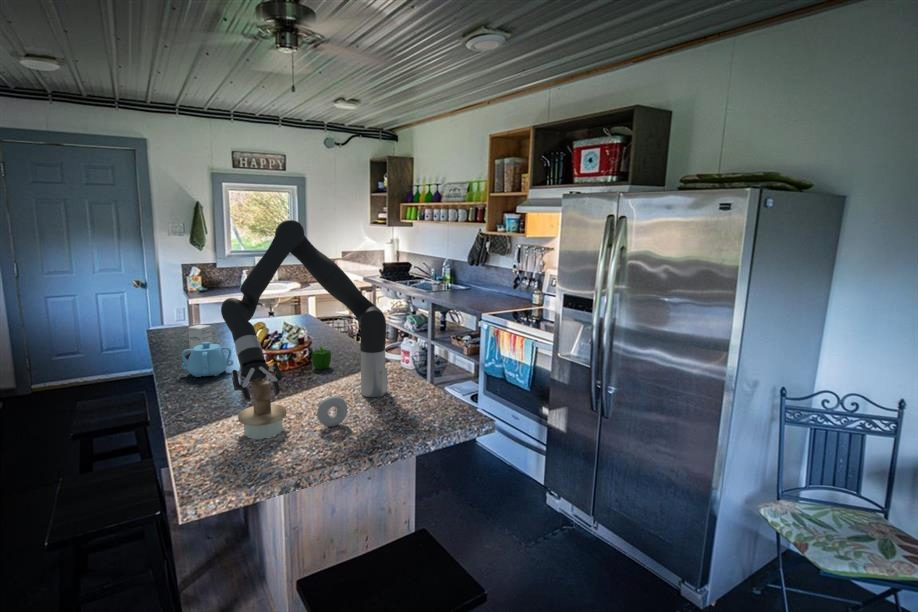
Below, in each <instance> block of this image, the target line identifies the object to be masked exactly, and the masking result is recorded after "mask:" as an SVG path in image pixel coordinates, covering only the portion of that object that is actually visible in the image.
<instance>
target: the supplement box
mask: <svg viewBox="0 0 918 612" xmlns="http://www.w3.org/2000/svg"><path fill="white" fill-rule="evenodd" d="M212 327H213V326H212V325H209V324H207V325H206V324H200V323H199V324H196V325H191V326H189V327H188V340H189V349H193V348H194V347H195V346H197V345H202V343H203V342H211V343H210V344H214V342H213V328H212Z"/></svg>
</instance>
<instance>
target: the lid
mask: <svg viewBox="0 0 918 612" xmlns="http://www.w3.org/2000/svg"><path fill="white" fill-rule="evenodd" d="M251 385H252V400H253V401H252V402H253V406H249V407H246V408H245V409H242V410H241V411H239V413H238V415H237V420H238V422H239V423H240V424H242V425H244V424H245V425H252V426H258V425H267V424H271V423H275V422H277V421H280V420H282V421H283V420H284V418H286V416H287V408H286V407H285V406H283V405H280V404H275V403H274V404H272V403H271V383H269V382H268V381H266V380H264V379H263V380H261V381H255V382H251Z"/></svg>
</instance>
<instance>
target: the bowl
mask: <svg viewBox="0 0 918 612" xmlns="http://www.w3.org/2000/svg"><path fill="white" fill-rule="evenodd" d="M243 431H244V433H243V435H245V436H244V437H246V436H247V437H246V438H248V439H249V438H254V439H253V440H264V439H263V438H267V439H270V438H269V437H271V438H273V437H272V436H274V435H277V434H278V435H280V434H281V433H282V432H283V419H282V420H280V421H277V422H275V423H271V424H267V425H258V426H252V425H245V424H243ZM281 431H282V432H281ZM280 432H281V433H280ZM279 433H280V434H279ZM278 435H277V436H278ZM274 437H275V436H274Z"/></svg>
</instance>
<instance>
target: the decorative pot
mask: <svg viewBox="0 0 918 612" xmlns="http://www.w3.org/2000/svg"><path fill="white" fill-rule="evenodd" d="M210 343H211V342H203V343H202V345H197V346H195V347H194V348H193V349H190V348H187V349H185V350H183V351H182V352H181V358H182V360H183V363H182V364H181V368H182V370H187V371H188V373H190V375H192V376H193V377H195V378H196V377H200V378H202V377H201V376H203V377H209V376H213V375H219V376H220V374H222V373H224V372H225V370H226V369H227V367H231V366H233V365H234V361H233V360H232V359H231V357H232V349H231V348H230V347H229V346H224V345H223V346H221V345H220V344H218V343H213V344H210ZM224 350H228V354H227V355H228V356H226V354H225V351H224ZM188 352H189V353H190V352H191V353H190V354H189V356H188V360H187V358H186V356H185V355H186V353H188ZM229 362H230V363H229Z"/></svg>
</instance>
